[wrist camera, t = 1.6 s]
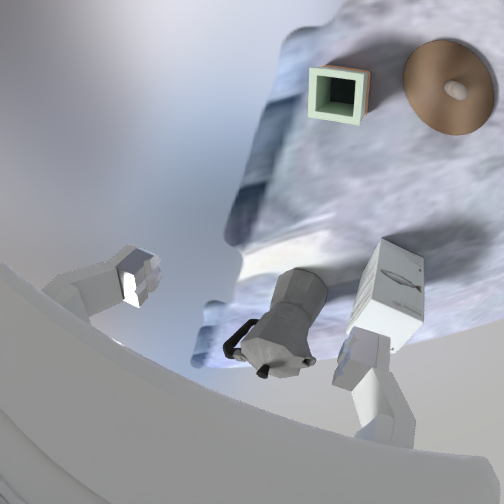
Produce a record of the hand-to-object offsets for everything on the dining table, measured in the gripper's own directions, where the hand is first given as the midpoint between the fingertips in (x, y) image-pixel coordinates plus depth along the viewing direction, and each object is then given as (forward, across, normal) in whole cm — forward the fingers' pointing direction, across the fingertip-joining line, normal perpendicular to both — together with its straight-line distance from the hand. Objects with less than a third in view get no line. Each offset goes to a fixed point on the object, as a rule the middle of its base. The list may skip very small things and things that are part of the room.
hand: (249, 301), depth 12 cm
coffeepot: (+31, 0, +27) cm, 41 cm away
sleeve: (+29, 0, -6) cm, 30 cm away
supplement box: (+30, -13, +15) cm, 36 cm away
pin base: (+28, -11, -11) cm, 32 cm away
